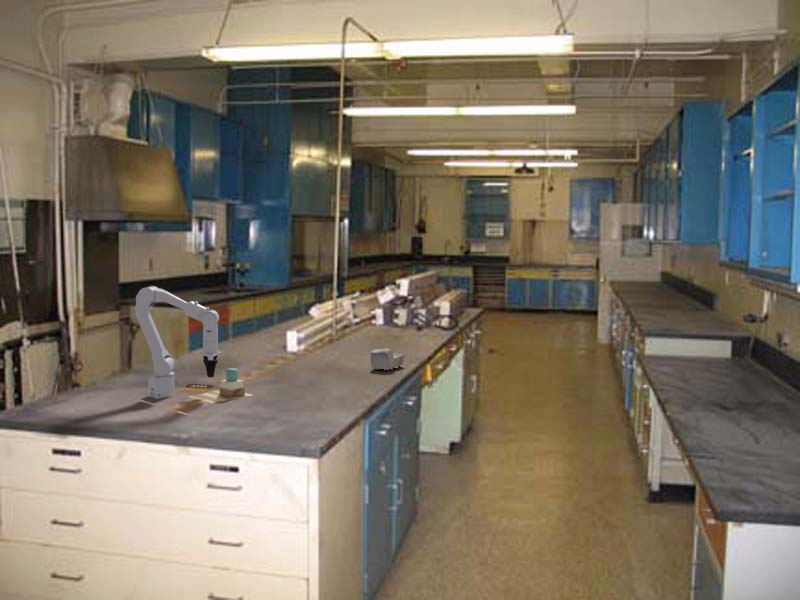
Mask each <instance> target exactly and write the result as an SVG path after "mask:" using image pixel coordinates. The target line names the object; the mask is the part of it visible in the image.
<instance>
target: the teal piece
mask: <svg viewBox="0 0 800 600" xmlns="http://www.w3.org/2000/svg"><path fill="white" fill-rule="evenodd" d="M225 371H226V374H225V375H226V377H225V378H226V379H225V380H226V381H228V382H235V381H238V380H239V369H238V368H237V367H236V368H235V367H234V368H233V367H230V368H226V370H225Z"/></svg>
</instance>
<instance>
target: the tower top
mask: <svg viewBox="0 0 800 600" xmlns="http://www.w3.org/2000/svg"><path fill="white" fill-rule="evenodd" d="M220 382H221V384H220V386H221V387H220V388H223V389H227V390H235V389H240V388H244V380H242V379H238V381H235V382H228V381H226V379H223V380H221V381H220Z"/></svg>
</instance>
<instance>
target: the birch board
mask: <svg viewBox="0 0 800 600" xmlns="http://www.w3.org/2000/svg"><path fill="white" fill-rule="evenodd" d="M251 396H253V394H251V393H247V392H245V395H244V396H239V397H234V398H228V397H224V396H220V395H219V390H216V391H210V392H204V393H201V394H198V393H197V394H192V395H188V398H190V399H191V398H192V399H196V400H199V401H202V402H207V403H210V404H214V403H220V402H225V401H231V400H236V399H241V398H248V397H251Z"/></svg>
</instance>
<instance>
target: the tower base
mask: <svg viewBox="0 0 800 600" xmlns="http://www.w3.org/2000/svg"><path fill="white" fill-rule="evenodd" d="M245 389H246V388H245V387H243V388H240V389H235V390H227V389H223V388H221V387H219V390H218V391H219V395H220V396H224V397H228V398H234V397H239V396H244V395H245V393H246V392H245V391H246V390H245Z"/></svg>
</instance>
